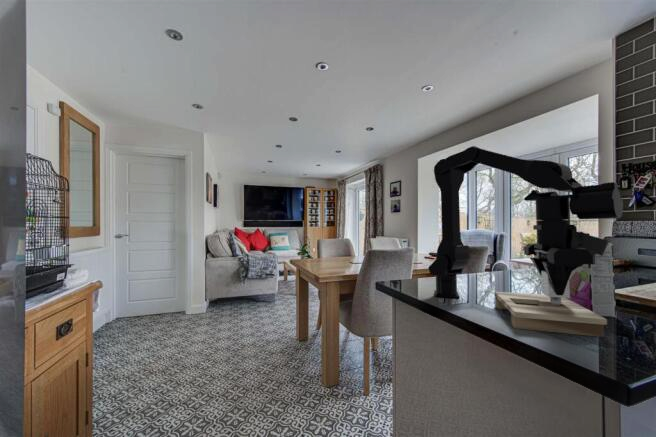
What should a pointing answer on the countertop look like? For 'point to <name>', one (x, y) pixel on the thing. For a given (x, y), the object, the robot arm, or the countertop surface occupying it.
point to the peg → (550, 292)
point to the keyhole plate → (550, 314)
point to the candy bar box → (595, 285)
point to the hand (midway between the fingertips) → (555, 293)
